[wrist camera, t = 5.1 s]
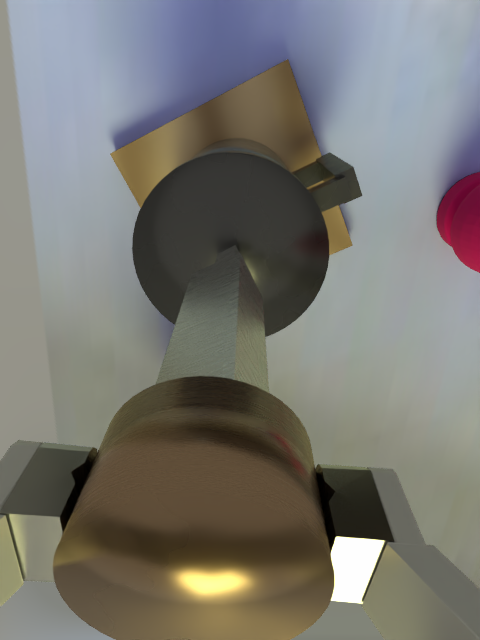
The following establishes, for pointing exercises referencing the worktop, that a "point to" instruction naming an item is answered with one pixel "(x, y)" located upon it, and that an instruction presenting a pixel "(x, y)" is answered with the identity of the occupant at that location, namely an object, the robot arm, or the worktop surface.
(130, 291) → the worktop surface
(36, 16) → the worktop surface
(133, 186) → the plate
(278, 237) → the press
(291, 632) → the plunger
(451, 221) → the pepper mill
